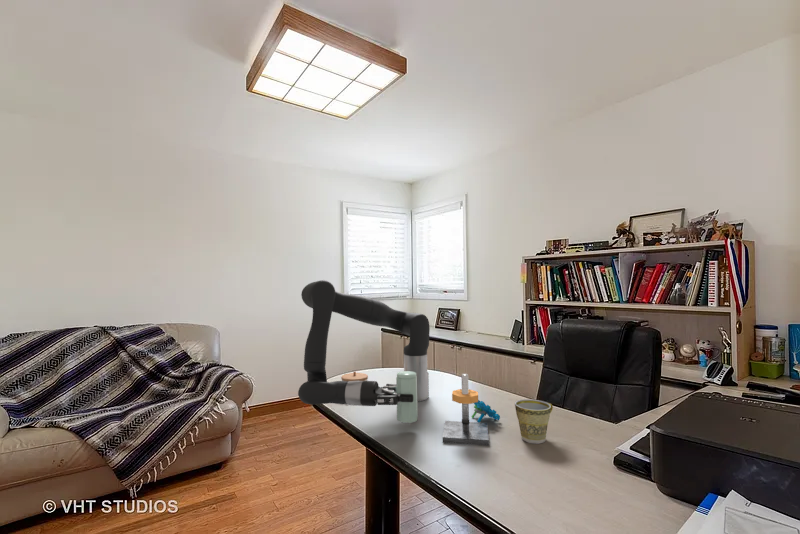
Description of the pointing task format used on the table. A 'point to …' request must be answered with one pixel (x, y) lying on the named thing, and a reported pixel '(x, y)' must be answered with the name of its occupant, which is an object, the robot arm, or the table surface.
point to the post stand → (465, 426)
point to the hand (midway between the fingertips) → (414, 394)
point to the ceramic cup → (533, 419)
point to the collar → (465, 396)
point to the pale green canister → (407, 385)
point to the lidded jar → (354, 377)
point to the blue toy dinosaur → (484, 411)
